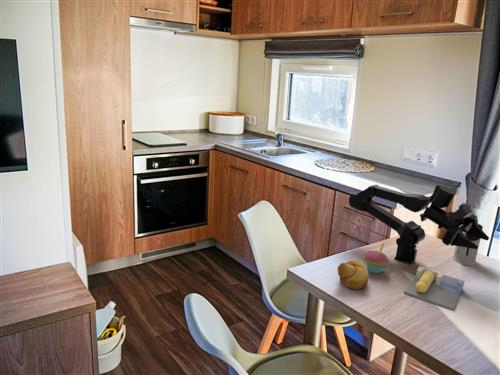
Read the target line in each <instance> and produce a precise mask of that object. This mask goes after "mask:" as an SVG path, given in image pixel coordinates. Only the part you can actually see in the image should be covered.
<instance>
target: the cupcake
mask: <svg viewBox="0 0 500 375" xmlns="http://www.w3.org/2000/svg"><path fill="white" fill-rule="evenodd" d="M384 245H385V241H383V242H382V243H381V246H380V249H379V250H369V251H366V252H364V254H363V258H362V259H363V261H364V262H365V263H366V267H367V269H368V271H369V272H371V273H373V274H379V273H381V272H382V270H383V269H384V267H385V266H387V265H388V262H389V258H388V257H387V255H386V254H385V253H383V252H382V251H383V249H384V248H383V247H384Z"/></svg>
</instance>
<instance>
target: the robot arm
mask: <svg viewBox="0 0 500 375" xmlns="http://www.w3.org/2000/svg"><path fill="white" fill-rule="evenodd" d="M456 194H457V192H456V191H455V190H454V189H452V188H450V187H447V186H445V185H444V186H443V185H441V184H437V185H436V186H435V188H434V191H433V192H432V194H431V195H430V196H426V195H424V194H420V193H419V194H417V193H405V192H402V191H397V190H394V189H390V188H387V187H383V186H380V185H378V184H373V185H370V186H368V187H367V188H366V189H363V190H361V191H360V192H358V193H354V194H351V195H350V196H349V198H348V203H349V207H351V208H352V209H354V210H357V211H360V212H364V213H367V214H369V215H371V216H372V217H373V218H375V219H377V220H378V221H380V222H381V223H383V224H384V225H385V226H387V227H389V228H390V229H392V230H394V232H396V233H397V235H398V236H399V237H398V238H397V239H395V243H396V246H397V248H396V253H395V256H394V257H393V259H394V260H397V261H400V262H402V263H405V264H409V265H412V263H413V262H415V261H416V259H417V254H418V249H417V248H418V246H417V245H418V244H419V243H420V242H423V240H425V237H426V231H425V229H424V228H422V225H420V224H417V223H416V222H415V221H414V220H410V221H408V222H405V221H403V220H402V219H400V218H398V217H396V216H395V215H394V214H393V213H391V212H390V211H387V210H386V209H384V208H382V207H381V206H379V205H377V204H376V203H375V202H374V200H373V199H374V198H375V197H376V198H380V199H383V200H384V201H385V200H386V201H389V202H392V203H396V204H399V205H400V206H403V208H405V209H406V210H408V211H410V212H412V213H419V212H422V211H423V213H420V214H419V217H420V222H425V221H427V220H429V221H431V222H432V223H433V224H436V225H437V226H438V227H437V229H439V230H441V229H444V231H445V232H444V234H443V236H442V238H441V242H442V244H444V245H445V246H447V247H448V246H451V247H452V246H453V247H456V246H460V247H466V248H472V249H477V248H478V246H477V245H476V244H475V243H473V242H472V241H471V240H469V239H468V238H467V237H465V236H464V234H463V232H467V234H468V235H471V236H474V237H477V238H480V240H485V241H489V239H490V237H489V236H488V235H487V234H486V233H485V232H484V230H483V229H481V228H480V227H479V226H478V224H479V219H478V216H476V215H475V214H472V212H473V210H472V209H471V207H472V206H471V205H468V203H465V202H463V203H461V204H460V205H459V206H458V209H457V210H455V211H452V210H451V211H449V212H448V211H447V210H445V208H449V206H450V205H451V203H452V201H453V200H454V198H455V196H456ZM478 249H479V248H478Z"/></svg>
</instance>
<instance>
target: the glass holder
mask: <svg viewBox="0 0 500 375" xmlns="http://www.w3.org/2000/svg"><path fill="white" fill-rule="evenodd" d="M478 226H479V227H480V228H481V229H482V230H483V229H484V227H483V225H482V224H480V223H478ZM463 234H464V236H465V237H467V238H468V239H469V240H471V241H472V242H473V243H475V244H476V245H477V246H478V248H477V249H472V248H466V247H460V246H454V250H453V255H452V256H451V259H452V260H453V261H454V262H456V263H458V264H461V265H465V266H475V265H476V264H477V261H476V258H477V256H478V251H479V246H480V243H481V239H480V238H477V237H474V236H471V235H468V234H467V232H463Z"/></svg>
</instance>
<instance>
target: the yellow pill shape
mask: <svg viewBox="0 0 500 375" xmlns="http://www.w3.org/2000/svg"><path fill="white" fill-rule="evenodd" d="M433 280H434V274H433V273H432V272H431V271H426V272H425V273H424V274H423V275H422V277H421V278H420V280H419V281H418V282H417V284H416V290H417V291H418V292H420V293H424V292H426V291H427V289H428V288H429V286H430V284H431V283H432V281H433Z"/></svg>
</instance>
